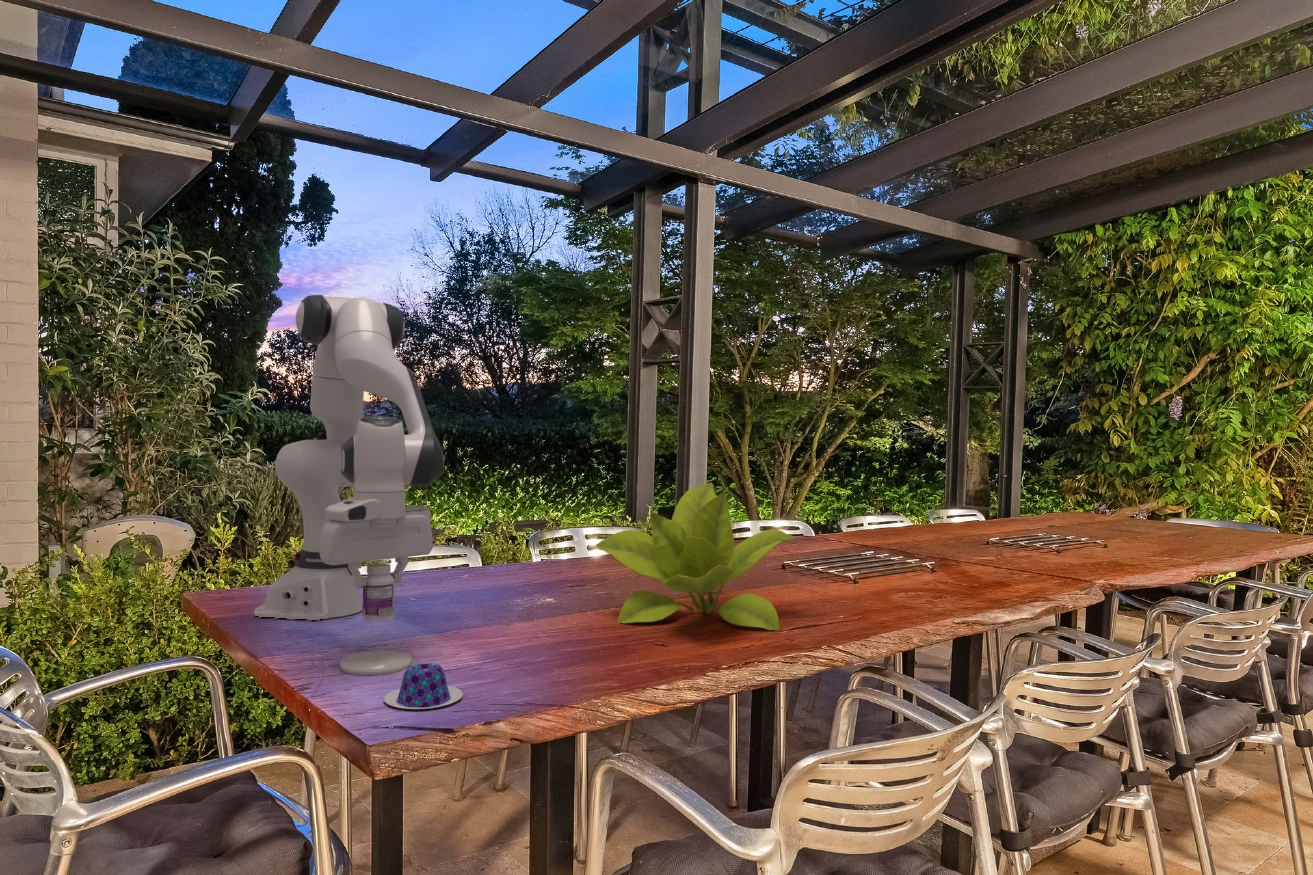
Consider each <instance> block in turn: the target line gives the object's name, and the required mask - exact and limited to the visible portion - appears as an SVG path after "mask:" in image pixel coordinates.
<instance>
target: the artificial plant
mask: <svg viewBox="0 0 1313 875" xmlns="http://www.w3.org/2000/svg"><path fill="white" fill-rule="evenodd" d="M714 488H715V487H714V484H713V483H712V482H708V483H704V484H702V485H699V486H694V487H692V488H690V489H688V490H686V491H685V493H684V494H683V495H682V496H681V498H680V499H679V501H678V503H677V505H676V507H675V508H674V511H673V514H672V517H671V519H669V518H665V517H664V516H662V515H660V514H659V513H657V512H651V513H650V515H649V521H650V522H649V523H650V526H651V527H650V528H651V535H650V534H649V533H647V532H644V531H642V530H634V529H631V530H630V529H626V530H622V531H618V532H616V533H614V534H612V535H611V534H610V536H607V537H606V538H604V539H602V540H600V541H599V542H598V543H596V546H595V547H597V548H598V549H600V550H602V551H603V552H605V553H607V554H608V555H611V556H612V557H613V558H614V559H616V560H617V561H618V562H620V563H621V564H622V565H623V566H625V567H626V568H627V569H628V570H630V571H631V572H634V573H636V574H638V575H640V576H642V577H646V578H651V579H655V580H658V581H661V582H662V586H663V587H666V588H669V589H670V590H673V591H675V592H682V593H683V592H687V593H688V595H689V597H690V599H691V602H692V604H693V605H694V606H695V608H696V609H697V610H700V611H701V612H702V613H703V612H704V614H705V613H706V614H705V615H708V614H709V615H710V614H711V613H712V612H715V611H717V610H718V613H719V615H720V616H721V618H722V619H723V620H724V621H726V622H728V623H729V624H732V625H735V626H739V627H740V626H741V627H747V628H748V627H749V628H761V629H765V630H768V631H771V630H780V631H781V628H780V623H779V615H778V612H777V610H776V608H775V606H774V605H773V604H772V603H771V602H770V601H769V600H768V599H766V598H764V597H762V596H760V595H758V594H754V593H747V592H746V593H742V594H738V595H736V596H734V597H732V598H730V599H728V600H727V601H726V602H724V603H723V604H722V605H720V606H716V605H717V603H718V599H719V596H720V594H721V592H722V589H723V588H724V586H725V584H726V583H728V582H730V581H733V580H734V579H737V578H740V577H742V576H743V575H744V574H745V573H747V571H749V570H750V569H751V568H753V566H754V565H756V564H757V563H758V562H759V561H760V560H761V559H762V558H763V557H765V556H766V555H767V554H769V552H771V551H772V550H773V549H774V548H776V547H777V546H778V545H780V544H781V543H786V542H790V541H793V540H795V539H796V536H793V535H790V534H789V533H786V532H785V531H783V530H779V529H776V528H773V529H767V530H764V531H761V532H758V533H755V534H754V535H752V536H750V537H748V538H746V539H744V540H743V541H741V542H739V543H737V545H736V546H735V537H734V533H733V532H734V531H733V529H732V526H731V525H732V524H731V521H730V518H729V505H728V501H727V499H728V498H727V494H726V492H722V493H720V494H719V495H716V493H715V489H714ZM718 587H719V588H718ZM717 588H718V590H717V592H716V593H715V595H714V596H713V592H714V591H715V590H716V589H717ZM693 593H694V594H696V595H697V596H698V600H699V602H698V600H697V598H696V597H695V596H696V595H694V594H693ZM706 594H707V600H706V598H705V595H706ZM680 606H681V607H684V608H686V609H687V610H688V611H689V612H691V611H692V612H694V611H695V608H694V607H692V606H689V605H687V604H684V603H682V602H678V601H676V600H674V599H673V598H671V597H669V596H667V595H663V594H659V593H655V592H651V591H647V590H638V591H635V592H633V593H632V594H631V595H629V596H628V597H627V598H626V600H625V602H624V603H623V605H622V608H621V609H620V612H619V615H618V619H617V624H618V623H623V624H632V623H654V622H657V621H662V620H665V619H666V618H668V617H670V616H671V615H673V614H675V613H677V610H678V609H679V608H680ZM708 608H710V609H708Z"/></svg>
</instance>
